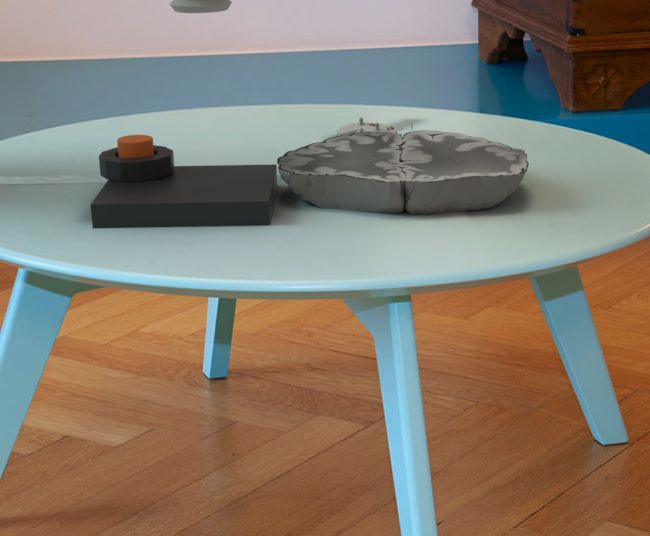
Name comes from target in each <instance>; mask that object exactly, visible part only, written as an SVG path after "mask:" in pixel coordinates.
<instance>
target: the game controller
mask: <svg viewBox="0 0 650 536" xmlns="http://www.w3.org/2000/svg"><path fill="white" fill-rule="evenodd" d="M358 121H359V122H351V123H348V124H345V125H343V126H342V127H340V128H338V129H337V130H336V132H335V133H336V136H341V135H350V134H353V133H358V132H366V131H368V132H394V133H398V132H401V131H402V130H403V129H404V127H405V126H406V125H407V123H405V124H403V125H402V128H400V129H399V130H398V128H397V127H396V126H394V125H390V124H386V123H381V122H380V123H379V122H368V121H367V122H365V121H364V118H363V117H362V116H361V117H359V119H358ZM410 126H411V128H410V130H413V124H412V123H410Z"/></svg>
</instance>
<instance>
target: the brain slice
mask: <svg viewBox="0 0 650 536" xmlns="http://www.w3.org/2000/svg"><path fill="white" fill-rule="evenodd" d="M276 165H278V166H277V172H278V173H279V175H280V179H281V180H282V181H283V182H284V183H285V184H286V185H287V186H288V187H289V189H290V191H292V193H293V194H295V195H298V196H300V197H301V198H302V199H303V200H304V202H308V203H310V204H313V205H315V206H316V207H318V208H320V209H331V210H344V211H351V212H363V213H372V214H401V213H403V212H404V211H405V212H407V213H408V214H410V215H433V214H441V213H447V212H448V213H449V212H450V213H451V212H467V211H468V212H473V211H480V210H489V209H491V208H494V207H495V206H497V205H498V204H500V203H501V202H503V201H505V200H506V198H508V196H509V195H512V194H513V193H514V192H515V191H516V190H517V189H518V187H519V186H520V184H521V183H522V182H523V179H524V177H525V175H526V174H527V171H528V168H529V165H530V164H529V162H528V154H527V153H526V152H525V150H524V149H522V148H514V147H513V148H512V147H511V146H509V145H506V144H504V143H502V142H498V141H491V140H489V139H486V138H483V137H479V136H473V135H467V134H464V133H459V132H458V133H457V132H449V131H448V132H446V131H441V130H427V129H426V130H424V129H423V130H415V131H408V132H405V133H404V134H403V135H402V134H401V133H399V132H397V133H394V132H368V131H366V132H358V133H353V134H350V135H341V136H337V135H335V136H331V137H327V138H324V140H322V141H317V142H312V143H308V144H307V145H305V146H301V147H298V148H296V149H294V150H288V151H286V152H285V153H284V154H283V155H281V156H279V157H278V158H277V160H276Z"/></svg>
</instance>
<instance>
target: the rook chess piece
mask: <svg viewBox="0 0 650 536" xmlns="http://www.w3.org/2000/svg"><path fill="white" fill-rule="evenodd" d="M232 3H233V1H231V0H172V1H170V2H169V6H170V7H171V8H172V9H173V11H174V12H175V13H181V14H182V13H183V14H209V13H210V14H211V13H220V12H224V11H227V10H229V8H230V7H231V5H232Z"/></svg>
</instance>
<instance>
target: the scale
mask: <svg viewBox="0 0 650 536" xmlns="http://www.w3.org/2000/svg"><path fill="white" fill-rule="evenodd" d="M153 146H154V155H153V156H150V157H143V158H120V157H119V156H118V146H116V147H113V148H109V149H106V150H104V151H101V153H100V154H99V155H98V162H99V174H100V176H101V177H102V178H104V179H105V180H107V181H106V182H105V184H104V185H103V187H102V188H101V189H100V191H99V192H98V194H97V195H96V196H95V197H94V198H93V200H92V202H91V203H90V204H89V205H90V206H89V207H90V212H91V213H90V216H91V226H92V229H135V228H136V229H137V228H138V229H139V228H140V229H141V228H143V229H144V228H200V227H201V228H202V227H203V228H204V227H208V228H209V227H260V226H261V227H263V226H265V227H267V226H268V227H269V226H271V222H272V217H273V211H274V206H275V200H276V196H277V191H278V166H277V165H278V164H224V165H223V164H222V165H221V164H220V165H219V164H218V165H175V157H174V150H173V149H171V148H169V147H167V146H163V145H156V144H153Z"/></svg>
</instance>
